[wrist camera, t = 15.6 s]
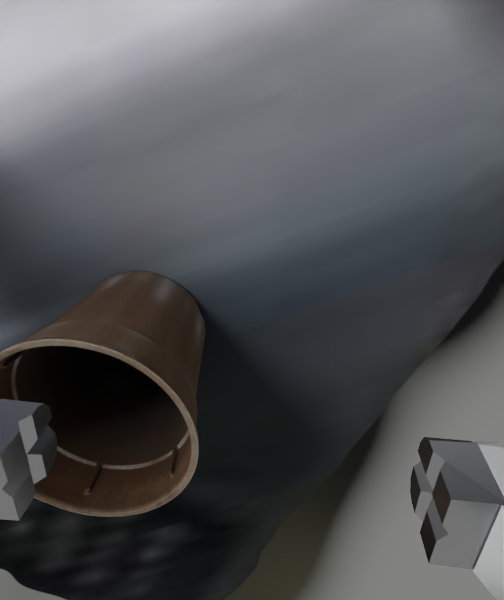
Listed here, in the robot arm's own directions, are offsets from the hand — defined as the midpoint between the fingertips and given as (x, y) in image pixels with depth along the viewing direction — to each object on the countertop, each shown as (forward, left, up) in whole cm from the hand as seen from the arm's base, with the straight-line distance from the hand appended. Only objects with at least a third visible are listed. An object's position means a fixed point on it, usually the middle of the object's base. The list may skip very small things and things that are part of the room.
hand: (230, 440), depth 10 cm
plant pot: (-12, -16, -31) cm, 37 cm away
